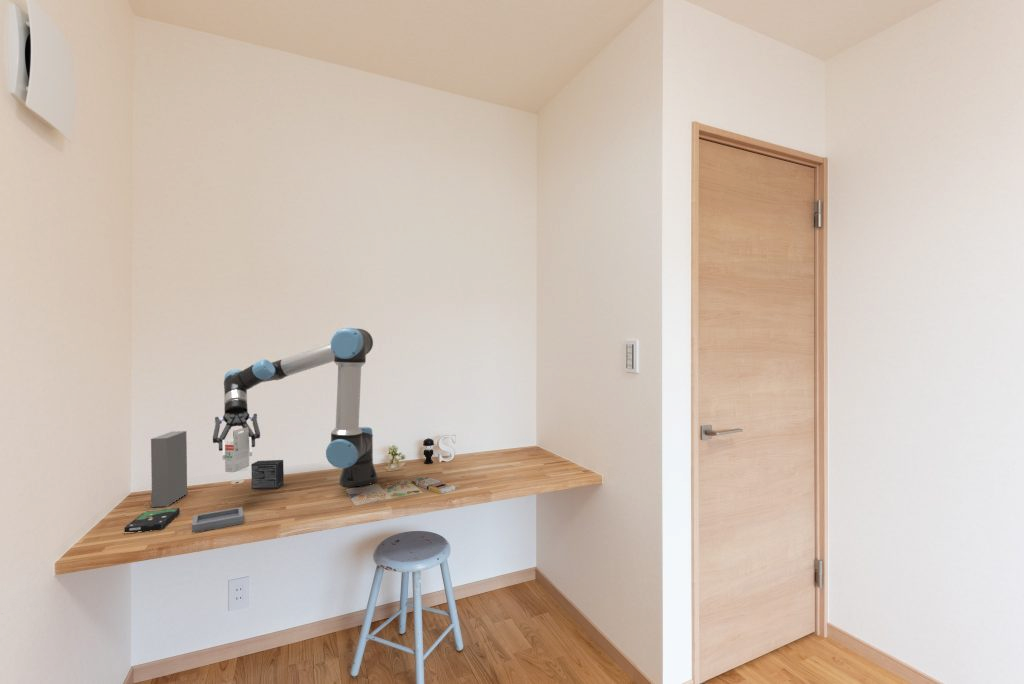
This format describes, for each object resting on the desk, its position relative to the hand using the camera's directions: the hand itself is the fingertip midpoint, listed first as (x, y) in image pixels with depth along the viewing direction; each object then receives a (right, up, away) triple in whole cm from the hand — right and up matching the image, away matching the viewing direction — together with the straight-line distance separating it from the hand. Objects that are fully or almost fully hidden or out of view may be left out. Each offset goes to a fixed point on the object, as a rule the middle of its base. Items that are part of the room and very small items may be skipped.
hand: (237, 455), depth 164 cm
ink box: (-2, -6, +3) cm, 7 cm away
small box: (-3, -20, +27) cm, 33 cm away
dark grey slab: (-32, -20, +11) cm, 40 cm away
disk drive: (-22, -20, -11) cm, 32 cm away
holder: (0, -20, -11) cm, 22 cm away
